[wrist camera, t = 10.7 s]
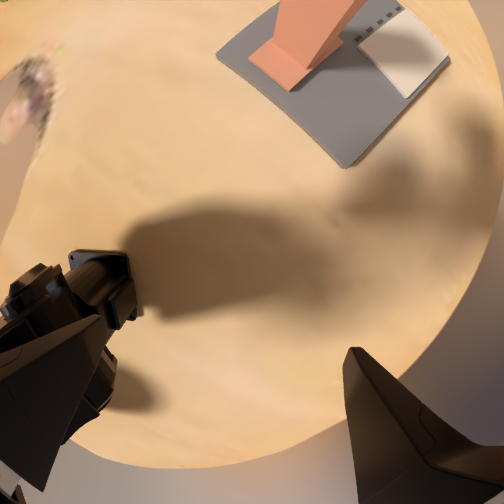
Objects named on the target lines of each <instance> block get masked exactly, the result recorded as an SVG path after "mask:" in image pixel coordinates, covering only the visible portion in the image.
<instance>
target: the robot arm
mask: <svg viewBox="0 0 504 504" xmlns="http://www.w3.org/2000/svg"><path fill="white" fill-rule="evenodd" d="M73 256H74V258H73ZM68 258H69V263H70V268H71V270H70V271H69V272H68V273H67V274H65V275H63V273H62V268H61V266H60V264H58V265H56V266H54V267H52V265H51V266H49V267H46V266H45V265H43V264H42V263H39V264H38V265H36V266H35V267H33V268H32V269H30V270H29V271H27V272H26V273H25V274H23V275H22V276H21V277H19V278H18V279H17V280H16V281H14V282H13V283H12V284H11V285H10V289H9V295H8V296H7V297H6V298H5V301H4V302H3V303H2V305H1V306H0V312H1V314H2V315H3V316H2V317H0V504H26V502H25V499H24V496H23V493H22V490H21V486H20V485H18V482H19V480H20V478H21V477H22V478H23V479H24V480H25V481H27V482H28V483H30V484H31V485H32V486H34V487H35V488H37V489H38V490H40V491H41V492H43V491H44V489H45V486H46V483H47V480H48V477H49V474H50V471H51V468H52V466H53V463H54V461H55V458H56V456H57V453H58V450H59V448H60V446H61V445H63V444H65V443H66V441H67V440H68V439H69V438H70V437H71V436H72V435H73V434H74V433H75V432H76V431H77V430H78V429H79V428H80V427H82V426H83V425H84V424H86V423H87V422H89V421H91V420H93V419H95V418H97V417H98V416H99V415H100V413H99V412H100V411H101V410H103V409H104V408H105V407H106V405H107V404H108V403H109V401H110V399H111V397H112V394H113V392H114V380H115V375H116V365H117V359H116V357H115V356H114V355H113V354H111V352H110V351H109V350H108V348H107V347H106V344H107V342H108V341H109V339H110V337H111V336H112V334H113V333H114V331H115V330H120V329H121V327H122V326H123V324H124V323H125V321H126V320H129V321H134V320H136V318H137V310H136V305H137V300H136V294H135V288H134V281H133V279H132V278H131V273H130V266H129V259H128V256H127V255H126V254H123V253H102V252H80V251H72V252H71V253H69V255H68ZM121 258H123V259H124V262H123V261H122V260H121ZM131 314H132V315H133V316H131ZM343 383H344V400H345V409H346V415H347V420H348V427H349V433H350V440H351V446H352V453H353V460H354V468H355V476H356V484H357V493H358V502H359V504H504V446H485V445H479V444H476V443H474V442H472V441H471V440H469V439H468V438H466V437H465V436H464V435H462V434H461V433H460V432H458V431H457V430H456V429H454V428H453V427H451V426H450V425H448V424H447V423H446V422H445V421H443V420H442V419H441V418H440V417H438V416H437V415H436V414H435V413H434V412H432V411H431V410H430V409H429V408H428V407H427V406H426V405H425V404H424V403H422V402H421V401H420V400H419V399H418V398H417V397H416V396H415V395H413V394H412V393H411V392H410V391H409V390H408V389H407V388H406V387H405V386H404V385H403V384H401V383H400V382H399V381H398V380H397V379H396V378H395V377H394V376H393V375H391V374H390V373H389V372H388V371H387V370H386V369H385V368H384V367H383V366H382V365H380V364H379V363H378V362H377V361H376V360H375V359H374V358H373V357H372V356H370V355H369V354H368V353H367V352H366V351H365V350H364V349H363V348H361V347H350V348H349V350H348V352H347V355H346V358H345V360H344V363H343Z"/></svg>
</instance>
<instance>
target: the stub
mask: <svg viewBox="0 0 504 504" xmlns="http://www.w3.org/2000/svg"><path fill="white" fill-rule="evenodd" d="M366 1H367V0H280V5H279V10H278V15H277V20H276V25H275V30H274V35H273V37H272V38H271V39H269V40H268V41H267V42H266V43H265V44H263V45H262V46H261V47H260V48H259V49H258V50H256V51H255V52H254V53H253V54H252V55H251V56H250V57H249V61H250V62H251V63H253V64H254V65H255V66H257V67H258V68H259V69H261V70H262V71H263V72H264V73H266V74H267V75H268V76H269V77H271V78H272V79H273V80H274V81H275V82H277V83H278V84H279V85H280V86H281V87H283V88H284V89H285V90H286V91H287V92H289V91H290V90H291V89H292V88H293V87H294V86H295V85H296V84H298V83H299V82H300V81H301V80H302V79H303V78H304V77H305V76H306V75H307V74H308V73H310V72H311V71H312V70H313V69H314V68H315V67H316V66H317V65H319V64H320V63H321V62H322V61H323V60H324V59H326V58H327V57H328V56H329V55H330V54H331V53H333V52H334V51H335V50H336V49H337V48H339V47H340V46H341V45H342V44H343V43H344V42H343V41H342V40H341V39H340V38H339V37H338V35H339V34H340V33H341V31H342V30H343V29H344V28H345V26H346V25H347V24H348V23H349V22H350V20H351V19H352V18H353V17H354V15H355V14H356V13H357V12H358V11H359V10H360V8H361V7H362V6H363V5H364V4H365V3H366Z"/></svg>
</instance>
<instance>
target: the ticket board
mask: <svg viewBox="0 0 504 504" xmlns="http://www.w3.org/2000/svg"><path fill="white" fill-rule="evenodd" d="M279 5H280V2H279V3H277V4H276V5H274V6H273V7H272V8H270V9H269V10H267V11H266V12H265V13H263V14H262V15H261V16H259V17H258V18H257V19H255V20H254V21H253V22H252V23H250V24H249V25H248V26H247V27H245V28H244V29H243V30H242V31H241V32H239V33H238V34H237V35H236V36H235V37H234V38H232V39H231V40H230V41H229V42H228V43H227V44H226V45H224V46H223V47H222V48H221V49H220V50H219V51H218V52H217V53H216V57H217V59H218V60H219V61H220V62H222V63H223V64H225V65H226V66H227V67H229V68H230V69H231V70H233V71H234V72H235V73H237V74H238V75H239V76H241V77H242V78H243V79H245V80H246V81H247V82H248V83H250V84H251V85H252V86H253V87H255V88H256V89H257V90H258V91H260V92H261V93H262V94H263V95H265V96H266V97H267V98H268V99H269V100H270V101H272V102H273V103H274V104H275V105H276V106H277V107H279V108H280V109H281V110H282V111H283V112H284V113H285V114H287V115H288V116H289V117H290V118H291V119H292V120H293V121H294V122H295V123H296V124H298V125H299V126H300V127H301V128H302V129H303V130H304V131H305V132H306V133H307V134H308V135H309V136H310V137H311V138H312V139H313V140H314V141H315V142H316V143H317V144H318V145H319V146H320V147H321V148H322V149H323V150H324V151H325V152H326V153H327V154H328V155H329V156H330V157H331V158H332V159H333V160H334V161H335V162H336V163H337V164H338V165H339V166H340V167H341V168H343V169H347V168H348V167H349V166H350V165H351V164H352V163H353V162H354V161H355V160H356V159H357V158H358V157H359V156H360V155H361V154H362V153H363V152H364V151H365V150H366V148H367V147H368V146H369V145H370V144H371V143H372V142H373V141H374V140H375V139H376V138H377V137H378V136H379V135H380V134H381V133H382V132H383V131H384V129H385V128H386V127H387V126H388V125H389V124H390V123H391V122H392V121H393V120H394V119H395V118H396V117H397V116H398V115H399V114H400V113H401V111H402V110H403V109H404V108H405V107H406V106H407V105H408V104H409V103H410V102H411V101H412V100H413V99H414V98H415V96H416V95H417V94H418V93H419V92H420V91H421V90H422V89H423V88H424V87H425V86H426V85H427V84H428V83H429V81H430V80H431V79H432V78H433V77H434V76H435V75H436V74H437V73H438V72H439V71H440V70H441V68H442V67H443V66H444V65H445V64H446V63H447V62H448V61H449V60H450V58H449V57H448V55H449V53H448V52H447V50H446V49H445V48H444V47H443V45H442V44H441V43H440V42H439V41H438V39H437V38H436V37H435V36H434V35H433V34H432V33H431V31H430V30H429V29H428V28H427V27H426V26H425V25H424V24H423V23H422V22H421V21H420V20H419V19H418V17H417V16H416V15H415V14H414V13H413V12H412V11H411V10H409V9H408V8H406V9H405V8H404V7H403V6H402V5H401V4H399V3H398V2H397V1H396V0H367V1H366V3H365V4H364V5H363V6H362V7H361V8H360V10H359V11H358V12H357V13H356V14H355V15H354V17H353V18H352V19H351V20H350V22H349V23H348V24H347V25H346V26H345V28H344V29H343V30H342V31H341V33H340V34H339V35H338V37H339V38H340V39H341V40H342V41H343V42H344V43H343V44H342V45H341V46H340V47H339V48H337V49H336V50H335V51H334V52H333V53H331V54H330V55H329V56H328V57H327V58H326V59H324V60H323V61H322V62H321V63H320V64H319V65H317V66H316V67H315V68H314V69H313V70H312V71H311V72H310V73H308V74H307V75H306V76H305V77H304V78H303V79H302V80H301V81H300V82H299V83H298V84H296V85H295V86H294V87H293V88H292V89H291V90H290V91H289V92H287V91H286V90H285V89H284V88H283V87H281V86H280V85H279V84H278V83H277V82H275V81H274V80H273V79H272V78H271V77H269V76H268V75H267V74H266V73H264V72H263V71H262V70H261V69H259V68H258V67H257V66H255V65H254V64H253V63H251V62H250V61H249V57H250V56H251V55H252V54H253V53H254V52H255V51H256V50H258V49H259V48H260V47H261V46H262V45H263V44H265V43H266V42H267V41H268V40H269V39H271V38H272V37H273V35H274V30H275V25H276V20H277V15H278V10H279Z"/></svg>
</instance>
